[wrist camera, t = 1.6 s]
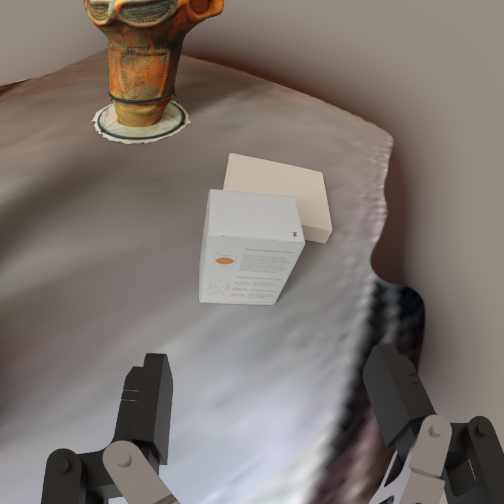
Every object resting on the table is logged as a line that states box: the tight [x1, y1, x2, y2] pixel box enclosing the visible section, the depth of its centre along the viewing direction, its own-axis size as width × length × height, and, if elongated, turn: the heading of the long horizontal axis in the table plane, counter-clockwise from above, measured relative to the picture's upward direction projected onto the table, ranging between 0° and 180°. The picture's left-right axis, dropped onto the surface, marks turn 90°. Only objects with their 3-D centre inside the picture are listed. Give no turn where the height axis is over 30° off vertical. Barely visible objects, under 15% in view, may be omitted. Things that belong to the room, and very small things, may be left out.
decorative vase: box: [84, 0, 224, 144], centre depth 41 cm, size 21×23×28 cm
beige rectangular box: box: [223, 153, 332, 244], centre depth 43 cm, size 14×12×2 cm
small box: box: [199, 189, 305, 305], centre depth 30 cm, size 8×6×10 cm
